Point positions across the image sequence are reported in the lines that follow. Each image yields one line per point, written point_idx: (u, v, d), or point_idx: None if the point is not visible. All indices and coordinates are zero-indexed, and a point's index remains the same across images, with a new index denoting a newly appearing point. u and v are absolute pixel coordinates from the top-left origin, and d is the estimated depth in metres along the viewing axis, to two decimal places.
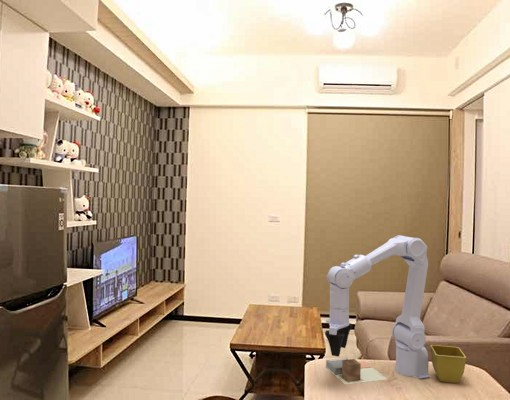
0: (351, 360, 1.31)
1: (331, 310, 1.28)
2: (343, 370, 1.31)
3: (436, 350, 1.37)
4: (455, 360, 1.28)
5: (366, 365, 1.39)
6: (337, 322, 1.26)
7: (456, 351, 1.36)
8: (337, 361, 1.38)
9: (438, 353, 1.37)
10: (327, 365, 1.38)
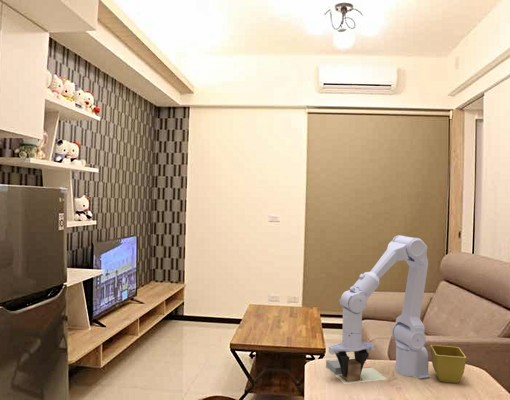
0: (351, 360, 1.31)
1: None
2: None
3: (436, 350, 1.37)
4: (455, 360, 1.28)
5: (366, 365, 1.39)
6: (343, 344, 1.29)
7: (456, 351, 1.36)
8: (337, 361, 1.38)
9: (438, 353, 1.37)
10: (327, 365, 1.38)
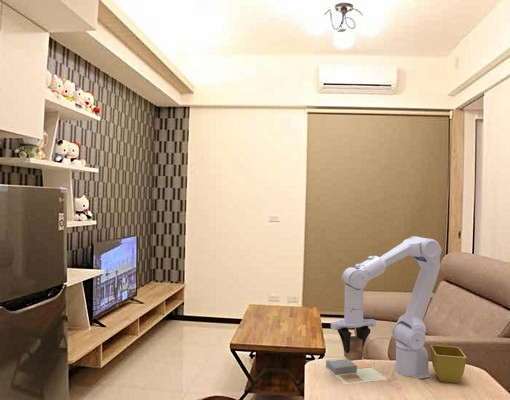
0: (353, 337, 1.32)
1: None
2: None
3: (436, 350, 1.37)
4: (455, 360, 1.28)
5: (366, 365, 1.39)
6: (345, 321, 1.30)
7: (456, 351, 1.36)
8: (337, 361, 1.38)
9: (438, 353, 1.37)
10: (327, 365, 1.38)
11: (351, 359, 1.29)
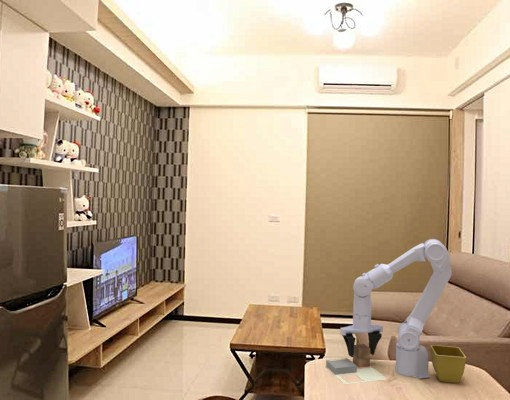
0: (361, 345, 1.41)
1: None
2: (354, 354, 1.40)
3: (436, 350, 1.37)
4: (455, 360, 1.28)
5: None
6: (354, 326, 1.39)
7: (456, 351, 1.36)
8: (337, 361, 1.38)
9: (438, 353, 1.37)
10: (327, 365, 1.38)
11: (359, 366, 1.38)
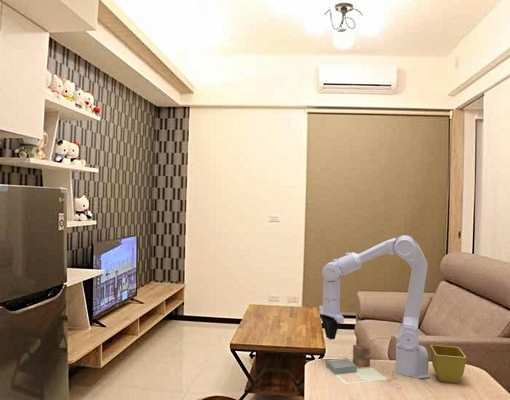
0: (361, 345, 1.41)
1: (329, 302, 1.41)
2: (354, 354, 1.40)
3: (436, 350, 1.37)
4: (455, 360, 1.28)
5: None
6: (335, 312, 1.41)
7: (456, 351, 1.36)
8: (337, 361, 1.38)
9: (438, 353, 1.37)
10: (327, 365, 1.38)
11: (359, 366, 1.38)
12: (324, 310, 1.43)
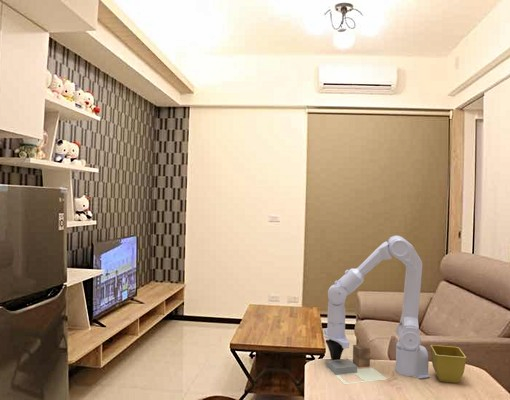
0: (361, 345, 1.41)
1: (334, 326, 1.38)
2: (354, 354, 1.40)
3: (436, 350, 1.37)
4: (455, 360, 1.28)
5: None
6: (340, 336, 1.38)
7: (456, 351, 1.36)
8: (337, 361, 1.37)
9: (438, 353, 1.37)
10: (327, 365, 1.37)
11: (359, 366, 1.38)
12: (329, 334, 1.39)
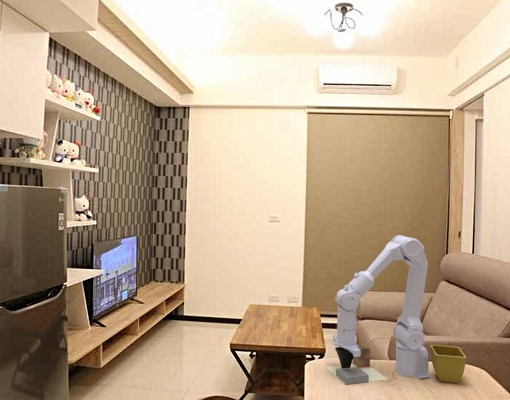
0: (361, 345, 1.41)
1: (344, 333, 1.31)
2: None
3: (436, 350, 1.37)
4: (455, 360, 1.28)
5: None
6: (351, 343, 1.31)
7: (456, 351, 1.36)
8: (348, 370, 1.31)
9: (438, 353, 1.37)
10: (337, 374, 1.31)
11: (359, 366, 1.38)
12: (339, 341, 1.32)
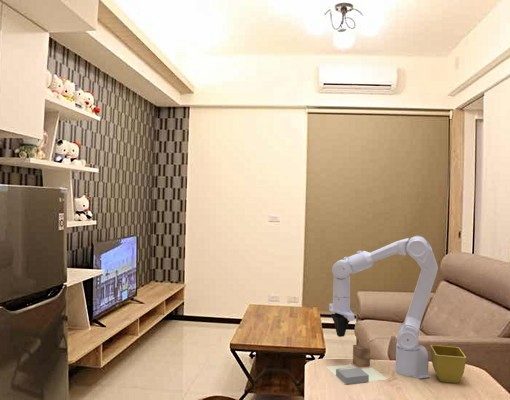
0: (361, 345, 1.41)
1: (339, 300, 1.41)
2: (354, 354, 1.40)
3: (436, 350, 1.37)
4: (455, 360, 1.28)
5: None
6: (345, 309, 1.41)
7: (456, 351, 1.36)
8: (348, 370, 1.31)
9: (438, 353, 1.37)
10: (337, 374, 1.31)
11: (359, 366, 1.38)
12: (334, 308, 1.42)
